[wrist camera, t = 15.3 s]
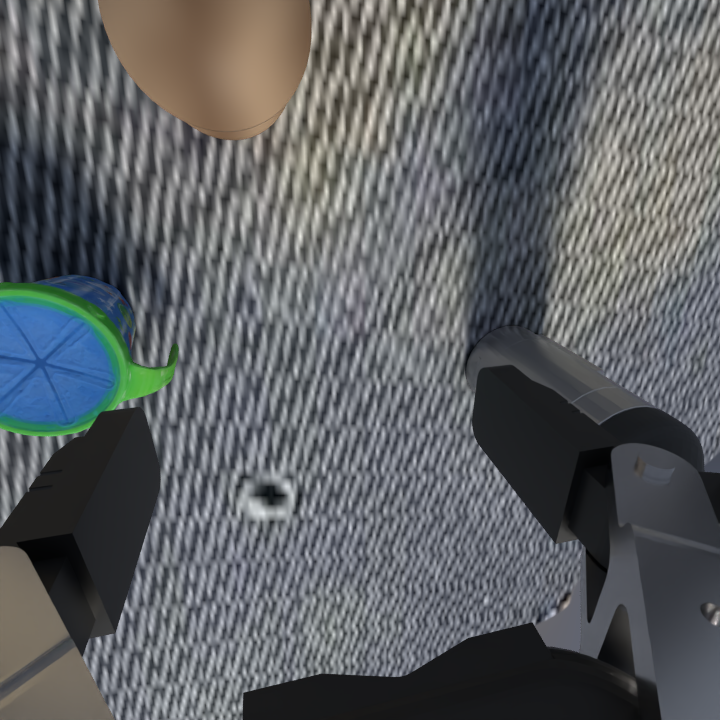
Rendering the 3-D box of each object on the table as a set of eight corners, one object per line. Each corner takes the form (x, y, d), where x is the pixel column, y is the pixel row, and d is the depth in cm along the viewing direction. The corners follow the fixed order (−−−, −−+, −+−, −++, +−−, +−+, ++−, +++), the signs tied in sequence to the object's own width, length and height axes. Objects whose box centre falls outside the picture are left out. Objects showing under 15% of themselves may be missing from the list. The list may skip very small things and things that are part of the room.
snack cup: (203, 297, 37) (187, 341, 28) (164, 395, 40) (139, 463, 31) (-9, 215, 31) (-115, 237, 22) (-36, 337, 34) (-138, 400, 25)
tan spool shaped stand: (285, -24, 29) (302, -116, 20) (298, 138, 34) (318, 129, 24) (130, -32, 27) (64, -138, 18) (166, 141, 32) (128, 132, 22)
